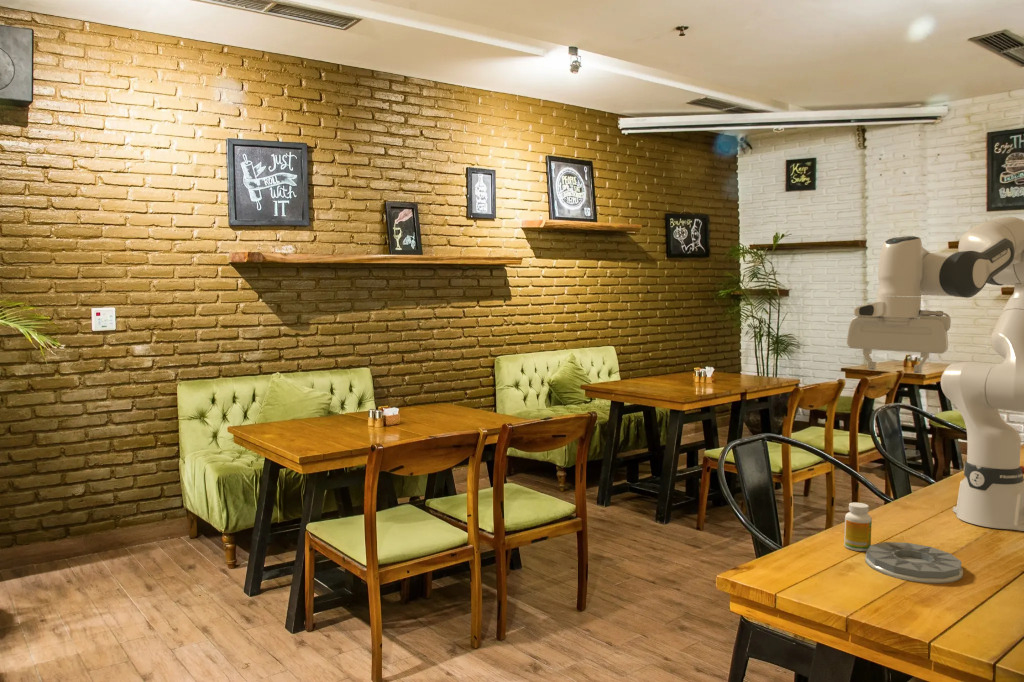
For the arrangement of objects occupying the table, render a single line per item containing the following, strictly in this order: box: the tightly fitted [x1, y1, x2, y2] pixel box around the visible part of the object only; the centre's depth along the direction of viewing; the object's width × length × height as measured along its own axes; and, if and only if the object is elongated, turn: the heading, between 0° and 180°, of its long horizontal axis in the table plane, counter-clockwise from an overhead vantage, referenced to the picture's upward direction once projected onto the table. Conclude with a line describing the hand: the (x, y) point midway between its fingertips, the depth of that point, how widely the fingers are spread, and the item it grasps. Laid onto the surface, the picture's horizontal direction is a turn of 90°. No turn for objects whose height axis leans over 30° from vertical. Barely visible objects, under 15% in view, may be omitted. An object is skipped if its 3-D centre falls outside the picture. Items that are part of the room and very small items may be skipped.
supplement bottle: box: [843, 501, 873, 552], centre depth 172 cm, size 5×5×10 cm
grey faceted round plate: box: [864, 541, 964, 584], centre depth 161 cm, size 18×18×2 cm
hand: (894, 371), depth 174 cm, fingers open, 8 cm apart
